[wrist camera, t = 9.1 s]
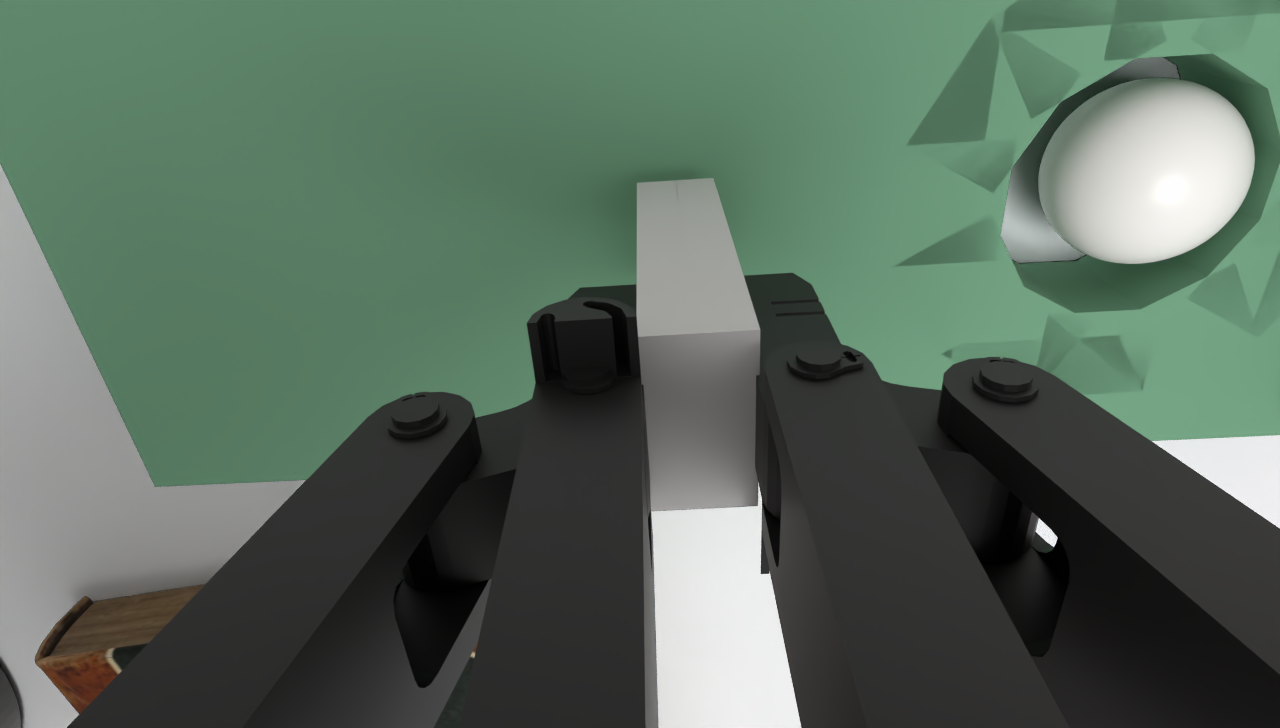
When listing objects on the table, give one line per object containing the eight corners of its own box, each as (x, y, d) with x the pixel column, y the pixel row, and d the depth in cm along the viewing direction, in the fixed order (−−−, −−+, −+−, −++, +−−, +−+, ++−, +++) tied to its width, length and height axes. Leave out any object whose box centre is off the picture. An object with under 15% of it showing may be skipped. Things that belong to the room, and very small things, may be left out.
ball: (1219, 306, 16) (1223, 241, 18) (1287, 103, 14) (1280, 64, 16) (1008, 274, 18) (1041, 219, 20) (1041, 93, 16) (1071, 60, 18)
